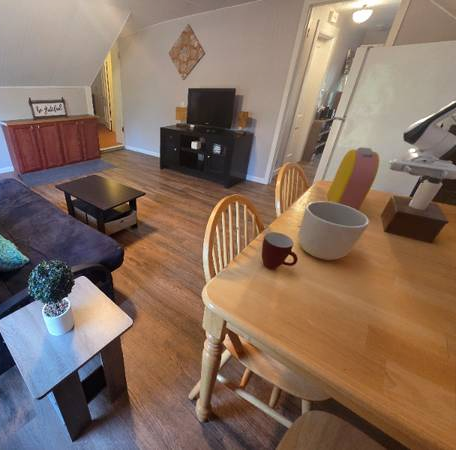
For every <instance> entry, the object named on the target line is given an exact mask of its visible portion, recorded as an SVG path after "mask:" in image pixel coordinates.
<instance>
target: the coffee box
mask: <svg viewBox="0 0 456 450" xmlns="http://www.w3.org/2000/svg"><path fill="white" fill-rule="evenodd" d="M380 219H381V224H382V228H383V232H384V233H387V234H391V235H395V236H399V237H403V238H409V239H411V240H416V241H420V242H423V243H428V244H432V243H433V242H434V240H435V239H436V238H437V237H438V235H439V234H440V233H441V231H442V230H443V229H444V227H445V226H446V224H445V223H441V222H436V221H431V220H427V219H422V218H417V217H413V216H408V215H403V214H399V213H396V210H395V207H394V204H393V201H392V198H391V197H390V198H389V200H388V202H387V204H386V206H385V207H384V209H383V211H382V212H381V214H380Z"/></svg>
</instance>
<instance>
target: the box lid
mask: <svg viewBox="0 0 456 450" xmlns="http://www.w3.org/2000/svg"><path fill="white" fill-rule="evenodd" d="M390 198H392V201H393V204H394V207H395V210H396V213H399V214H403V215H408V216H413V217H417V218H422V219H427V220H431V221H436V222H441V223H445V225H446V224H447V225H448V224H449V220H448V218H447V217H446V215H445V214H444V213H443V211H442V209H441V208H440V205H438V204H437V203H435V202H430V204H429V205H428V207H427V208H426V209H425V210H420V209H415V208H413V207H411V206H409V204H410V202H411V201H412V199H413V198H408V197H403V196H398V195H391V196H390Z"/></svg>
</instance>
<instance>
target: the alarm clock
mask: <svg viewBox="0 0 456 450" xmlns="http://www.w3.org/2000/svg"><path fill="white" fill-rule="evenodd" d="M379 166H380V155H379V153H378V152H377V151H373V150H372V148H371V147H363V146H361V147H358V148H357V149H349V150H348V151H347V152H346V154H345V155H344V156H343V157H342V160H341V162H340V164H339V165H338V167H337V170H336V173H335V175H334V178H333V180H332V183H331V185H330V188H329V190H328V191H327V199H328V202H333V203H338V204H342V205H346V206H349V207H351V208H354V209H356V210H358V211H360V209H361V208H362V205H363V203H364V202H365V200H366V198H367V196H368V194H369V192H370V190H371V188H372V186H373V184H374V182H375V179H376V177H377V174H378V171H379Z"/></svg>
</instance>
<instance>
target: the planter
mask: <svg viewBox="0 0 456 450" xmlns="http://www.w3.org/2000/svg"><path fill="white" fill-rule="evenodd" d="M369 225H370V219H369V217H368V216H367V215H366V214H364V213H363V212H362V211H360V210H359V211H358V210H356V209H354V208H351V207H349V206H346V205H342V204H338V203H333V202H329V201H323V200H322V201H321V200H318V201H311V202H309V203H308V204H307V205H306V206H305V208H304V213H303V216H302V220H301V223H300V226H301V227H299V230H298V242H299V245H300V246H301V248H302V249H303V250H304V251H305V253H307V254H309V255H311V256H312V257H314V258H317V259H321V260H325V261H326V260H327V261H333V260H334V261H335V260H338V259H341V258H344V257H345V256H347V255H348V254H349V253H351V251H352V250H353V248H354V247H355V245H356V244H357V243H358V241H359V240H360V238H361V237H362V235H363V234H364V233H365V230H367V228H368V226H369Z"/></svg>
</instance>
